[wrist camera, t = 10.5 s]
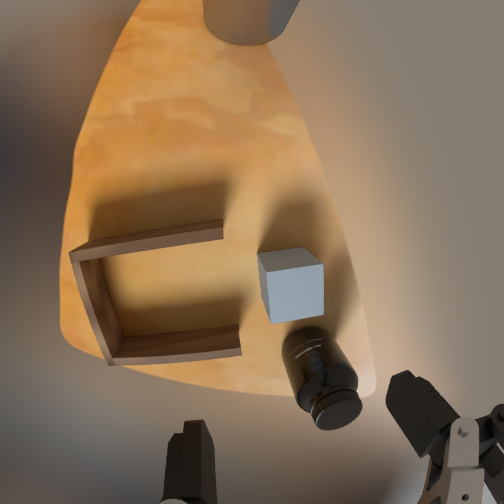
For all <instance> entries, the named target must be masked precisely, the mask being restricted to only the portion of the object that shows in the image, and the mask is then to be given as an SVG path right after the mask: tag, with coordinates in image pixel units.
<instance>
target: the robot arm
mask: <svg viewBox="0 0 504 504" xmlns="http://www.w3.org/2000/svg"><path fill="white" fill-rule="evenodd" d="M299 1H300V0H203V11H204V21H205V24H206V26H207V28H208V29H209V30H210V32H211V33H213V34H214V35H215V36H216V37H218V38H220V39H222V40H224V41H227V42H230V43H233V44H238V45H258V44H263V43H266V42H269V41H271V40H273V39H275V38H276V37H278V36H279V35H281V33H282V32H283V31H284V30H285V28H286V26H287V24H288V22H289V20H290V18H291V16H292V14H293V12H294V10H295V8H296V7H297V4H298V3H299ZM386 406H387V408H388V410H389V412H390V413H391V415H392V416H393V418H394V419H395V421H396V422H397V424H398V425H399V427H400V428H401V430H402V431H403V433H404V434H405V436H406V437H407V439H408V440H409V442H410V443H411V445H412V446H413V448H414V449H415V451H416V452H417V454H418V456H419V457H420V458H422V457H424V456H425V455H427V454H429V455H430V459H429V464H428V469H427V474H426V479H425V484H424V488H423V492H422V495H421V497H420V499H419V501H418V502H417V504H481V501H482V492H483V484H484V482H485V484H486V485H487V487H488V489H489V490H490V492H491V494H492V495H493V497H494V499H495V501H496V502H497V504H504V454H503V453H502V451H501V450H500V449H499V447H498V446H497V442H498V443H499V444H500V446H501V447H502V448H503V450H504V404H499V405H497V406H495V407H494V409H493V410H492V412H491V413H490V414H489V415H487V416H484V417H481V418H478V419H475V420H474V419H472V418H470V417H460V416H459V415H458V414H457V413H456V412H455V410H454V409H453V408H452V407H451V406H450V405H449V404H448V402H447V401H446V400H445V399H444V398H443V397H442V396H440V393H439V392H438V391H437V390H435V388H434V387H433V386H432V385H431V383H430V382H429V381H427V380H425V379H423V378H421V377H420V376H419V377H415V376H414V375H413V374H412V373H411V372H410V371H409V370H406V371H403V372H400V373H398V374H396V375H393V376H392V377H391V380H390V384H389V387H388V391H387V395H386ZM214 452H215V451H214V444H213V440H212V438H211V435H210V433H209V431H208V429H207V426H206V424H205V422H204V420H189V421H185V422H184V428H183V433H174V435H173V436H172V438H171V439H170V441H169V443H168V449H167V459H166V463H167V464H166V469H165V480H164V493H163V497H162V500H161V501H160V503H159V504H217V491H216V474H215V453H214Z"/></svg>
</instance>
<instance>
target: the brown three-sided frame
mask: <svg viewBox="0 0 504 504" xmlns="http://www.w3.org/2000/svg"><path fill="white" fill-rule="evenodd" d="M220 239H224V237H223V226H222V220H214V221H208V222H201V223H194V224H187V225H181V226H175V227H168V228H162V229H156V230H150V231H144V232H138V233H132V234H127V235H121V236H116V237H110V238H105V239H100V240H94V241H89V242H87V243H85V244H83V245H81V246H79V247H78V248H76V249H74V250H72V251H70V252H69V256H70V260H71V264H72V268H73V271H74V275H75V279H76V282H77V285H78V289H79V292H80V295H81V298H82V301H83V304H84V307H85V310H86V313H87V315H88V318H89V321H90V324H91V326H92V329H93V331H94V334H95V336H96V339H97V341H98V344H99V346H100V349H101V351H102V353H103V355H104V358H105V360H106V362H107V364H108V366H112V365H148V364H166V363H179V362H191V361H201V360H210V359H219V358H227V357H234V356H241V355H242V352H241V345H240V338H239V331H238V325H235V326H228V327H221V328H213V329H205V330H196V331H187V332H178V333H168V334H156V335H144V336H130V337H123V334H122V331H121V329H120V326H119V323H118V320H117V317H116V314H115V311H114V308H113V305H112V302H111V298H110V295H109V292H108V288H107V285H106V281H105V278H104V274H103V270H102V266H101V262H100V258H102V257H108V256H114V255H120V254H127V253H133V252H139V251H146V250H152V249H159V248H165V247H172V246H179V245H185V244H192V243H199V242H206V241H213V240H220Z"/></svg>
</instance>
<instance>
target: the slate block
mask: <svg viewBox="0 0 504 504" xmlns="http://www.w3.org/2000/svg"><path fill="white" fill-rule="evenodd" d="M257 259H258V269H259V278H260V288H261V297H262V300H263V303H264V306H265V309H266V311H267V314H268V317H269V320H270V323H271V324H276V323H282V322H287V321H293V320H298V319H304V318H309V317H314V316H319V315H324V271H323V263H322V262H321V261H319V260H318V259H317V258H316V257H315V256H314V255H312V254H311V253H310V252H309V251H308V250H306V249H305V248H304V247H299V248H292V249H285V250H277V251H270V252H263V253H257Z"/></svg>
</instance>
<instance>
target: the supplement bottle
mask: <svg viewBox="0 0 504 504" xmlns="http://www.w3.org/2000/svg"><path fill="white" fill-rule="evenodd" d="M282 358H283V362H284V365H285V368H286V371H287V374H288V378H289V381H290V384H291V387H292V390H293V393H294V396H295V399H296V401H297V404H298V405H299V407H300V408H301V409H303V410H304V411H306V412H308V413H311V416H312V418H313V420H314V422H315V425H316V426H317V427H318V428H319V429H322V430H335V429H339V428H341V427H344V426H346V425H348V424H349V423H351V422H352V421H354V420H355V419H356V418H357V417H358V415H359V414H360V412H361V410H362V402H361V400H360V398H359V396H358V393H357V392H356V391H357V388H358V376H357V374H356V372H355V370H354V369H353V367H352V365H351V364H350V362H349V361H348V359H347V358H346V356H345V355H344V353H343V351H342V350H341V348H340V347H339V345H338V344H337V342H336V341H335V339H334V338H333V336H332V335H331V334H330V332H328V331H327V330H326V329H324V328H321V327H316V326H311V327H305V328H302V329H300V330H298V331H296V332H294V333H293V334H292V335H291V336H290V337H289V338H288V339H287V340H286V342H285V343H284V345H283V348H282Z"/></svg>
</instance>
